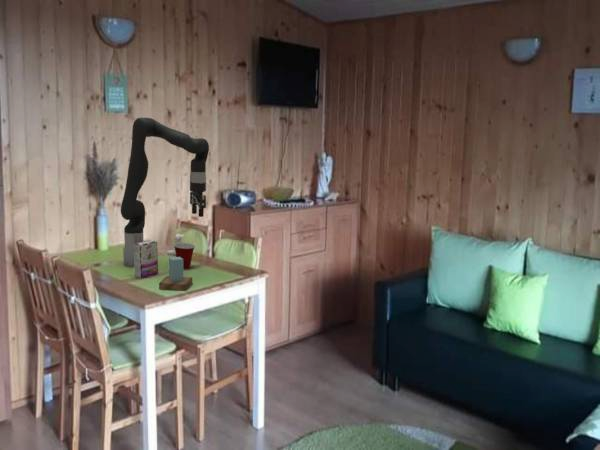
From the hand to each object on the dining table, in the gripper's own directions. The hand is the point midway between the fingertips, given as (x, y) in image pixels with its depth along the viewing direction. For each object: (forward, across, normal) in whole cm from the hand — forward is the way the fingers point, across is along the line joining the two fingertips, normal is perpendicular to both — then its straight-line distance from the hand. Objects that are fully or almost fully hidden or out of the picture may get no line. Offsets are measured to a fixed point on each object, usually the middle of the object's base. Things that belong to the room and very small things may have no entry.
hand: (197, 215), depth 286 cm
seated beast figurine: (+30, -46, +7) cm, 56 cm away
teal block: (+27, +14, -15) cm, 34 cm away
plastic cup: (+30, -17, 0) cm, 34 cm away
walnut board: (+30, +14, -15) cm, 36 cm away
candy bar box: (+30, -10, -22) cm, 39 cm away
